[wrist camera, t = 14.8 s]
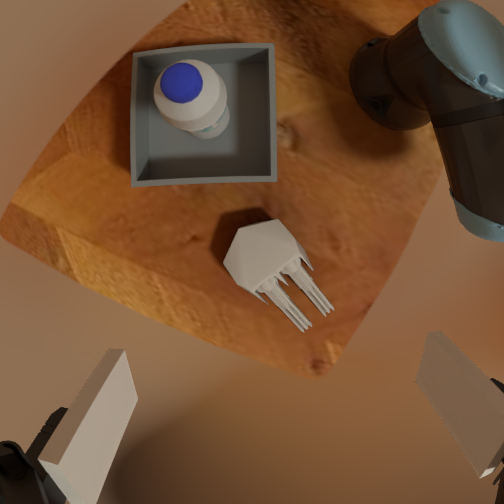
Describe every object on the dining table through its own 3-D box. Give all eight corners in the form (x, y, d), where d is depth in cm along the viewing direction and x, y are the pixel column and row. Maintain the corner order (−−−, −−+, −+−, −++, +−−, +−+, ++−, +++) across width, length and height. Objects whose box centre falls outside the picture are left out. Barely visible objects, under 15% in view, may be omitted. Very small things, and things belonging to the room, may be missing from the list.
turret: (289, 329, 53) (296, 346, 48) (209, 244, 46) (210, 257, 41) (338, 293, 51) (349, 308, 47) (265, 200, 44) (271, 208, 40)
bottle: (173, 113, 40) (122, 74, 21) (214, 86, 40) (193, 26, 20) (199, 151, 42) (164, 137, 23) (241, 124, 41) (239, 88, 22)
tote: (269, 60, 40) (274, 43, 33) (271, 180, 44) (276, 181, 37) (147, 68, 39) (133, 53, 33) (147, 184, 44) (131, 187, 37)
